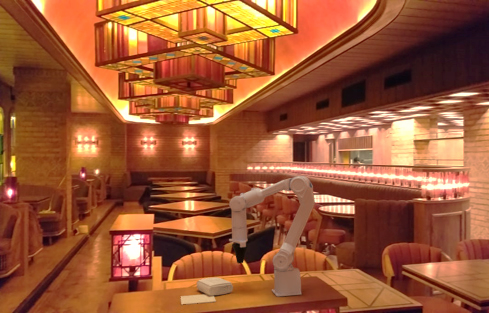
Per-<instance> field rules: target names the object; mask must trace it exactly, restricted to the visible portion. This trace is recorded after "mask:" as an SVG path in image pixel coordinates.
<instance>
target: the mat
mask: <svg viewBox="0 0 489 313" xmlns="http://www.w3.org/2000/svg"><path fill="white" fill-rule="evenodd" d="M180 297H181V298H180ZM180 297H179V298H180V303H181V304H180V305H181V306H183V304H186V305H196V304H197V303H198V304H206V303H207V304H209V303H210V304H211V303H216V302H217V300H216V298H215V295H213V296H211V295H207V294H205V293H202V294H193V295H191V294H190V295H181V296H180ZM198 304H197V305H198Z"/></svg>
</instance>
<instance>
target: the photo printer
mask: <svg viewBox="0 0 489 313" xmlns="http://www.w3.org/2000/svg"><path fill="white" fill-rule="evenodd" d="M196 289H197V291H199V292H201V293H202V294H207V295H211V296H213V295H214V296H219V295H225V294H230V293H232V292H233V289H234V285H233V284H232V282H231V281H229V280H226V279H223V278H221V277H207V278H206V277H205V278H202V279H199V280H197V281H196Z"/></svg>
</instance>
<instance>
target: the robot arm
mask: <svg viewBox="0 0 489 313" xmlns="http://www.w3.org/2000/svg"><path fill="white" fill-rule="evenodd" d="M283 191H286V192H291V191H292V192H293V194H294V195H295V196H296V197H297V199H298V202H299V203H300V205H299V207H298V209H297V211H296V214H295V216H294V218H293V220H292V222H291V224H290V227H289V229H288V232H287V234H286V236H285V238H284V241H283V243H282V244H281V246H280V248H279V250H278V252H277V253H275V255H273V258H272V265H273V276H274V279H273V280H274V288H272V289H271V292H272V293H273V294H274V295H275V296H276V297H285V296H286V297H287V296H289V297H290V296H298V295H300V296H301V295H303V294H302V280H301V271H300V269H299V268H298V267H294V265H293V264H292V263H293V262H294V260H295V256H294V255H295V251H296V249H297V246H298V245H297V244H298V243H299V241H300V238H301V236H302V234H303V232H304V229H305V227H306V225H307V222H308V220H309V218H310V215H311V213H312V210H313V209H314V206H315V203H316V200H315V193H314V186H313V184H312V182H311V180H310V178H308V177H307V176H306V175H299V176H298V175H297V176H294V177H292V178H290V177H289V178H287V179H282V180H280V181H278V182H276V183H273V184H271V185H269V186H267V187H264V188H263V189H261V188H259V187H252V188H250V190H248V191H247V192H241V193H240V194H239V195H236V196H234V197H232V198H231V199H230V201H229V202H228V203H229V205H228V206H229V208H230V210H231V238H229V239H228V241H229V242H232V244H231V246H232V248H233V251H234V254H235V259H236V263H237V264H243V263H244V260H245V254H246V251H247V248H248V247H249V246H248V244H247V242H248V241H249V240H248V230H247V229H248V228H247V225H248V223H247V208H251V207H254V206H257V205H258V204H261V203H263V202H264V201H265V198H267V197H269V196H272V195H274V194H277V193H280V192H283Z"/></svg>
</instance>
